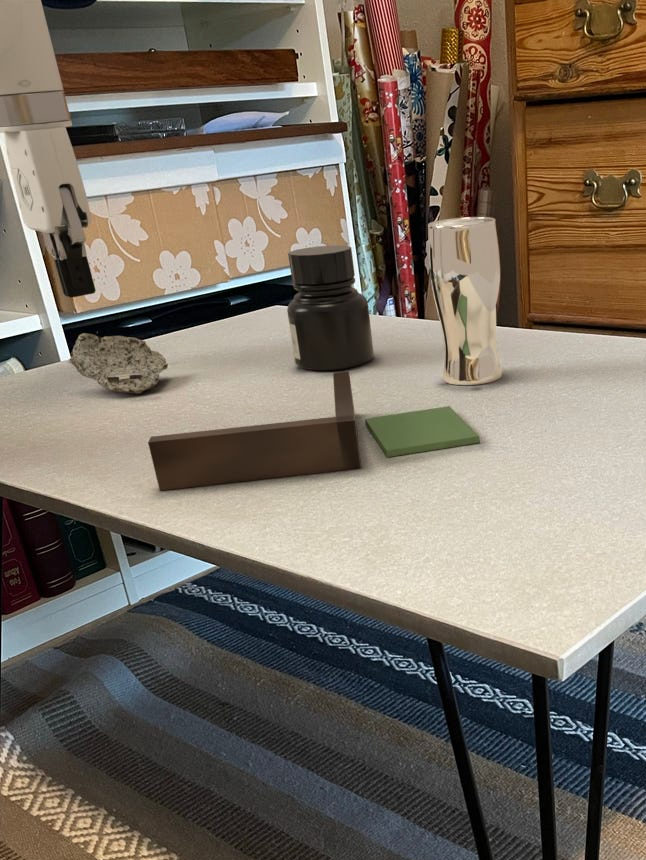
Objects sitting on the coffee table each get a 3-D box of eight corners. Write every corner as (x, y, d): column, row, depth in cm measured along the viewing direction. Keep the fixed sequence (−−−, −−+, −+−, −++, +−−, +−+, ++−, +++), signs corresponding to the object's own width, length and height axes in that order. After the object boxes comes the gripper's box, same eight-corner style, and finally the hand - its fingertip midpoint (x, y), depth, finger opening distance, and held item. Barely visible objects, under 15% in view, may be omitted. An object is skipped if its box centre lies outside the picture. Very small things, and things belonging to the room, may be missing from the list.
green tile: (387, 457, 81) (386, 450, 81) (365, 424, 89) (364, 418, 89) (480, 442, 83) (479, 435, 82) (450, 412, 91) (449, 405, 91)
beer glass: (447, 369, 105) (435, 218, 98) (511, 368, 104) (503, 215, 96) (432, 387, 99) (417, 228, 92) (499, 386, 98) (490, 224, 90)
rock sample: (90, 369, 99) (86, 300, 102) (67, 411, 104) (64, 344, 107) (189, 394, 105) (183, 327, 108) (162, 432, 111) (157, 368, 114)
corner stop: (159, 491, 78) (147, 442, 76) (183, 431, 91) (174, 389, 89) (361, 468, 79) (354, 419, 77) (354, 413, 93) (349, 371, 91)
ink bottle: (327, 350, 117) (312, 243, 111) (390, 353, 113) (378, 243, 107) (278, 371, 110) (259, 257, 104) (344, 375, 106) (328, 257, 100)
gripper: (-24, 118, 107) (28, 293, 116) (15, 116, 96) (69, 308, 105) (45, 112, 111) (90, 282, 120) (90, 109, 100) (135, 295, 109)
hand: (80, 294), depth 113 cm, fingers closed
